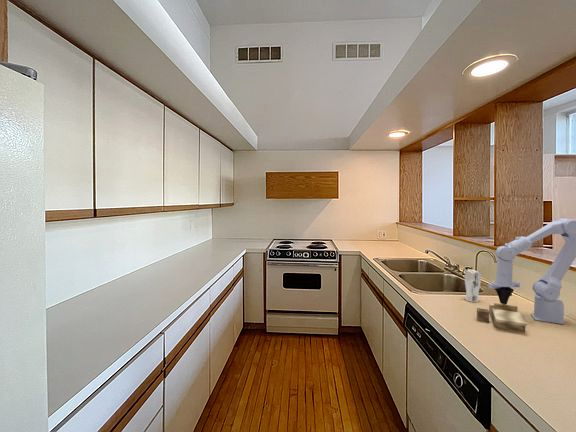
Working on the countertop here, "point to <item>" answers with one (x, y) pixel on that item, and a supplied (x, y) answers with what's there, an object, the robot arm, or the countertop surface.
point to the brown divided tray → (504, 325)
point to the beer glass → (472, 285)
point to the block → (482, 315)
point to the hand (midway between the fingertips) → (503, 303)
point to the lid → (508, 314)
